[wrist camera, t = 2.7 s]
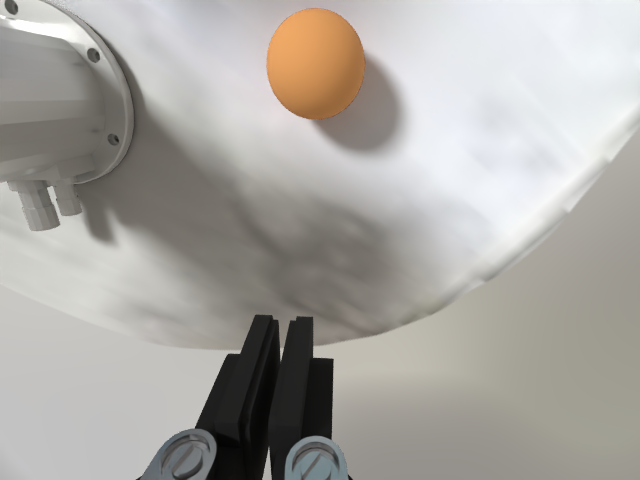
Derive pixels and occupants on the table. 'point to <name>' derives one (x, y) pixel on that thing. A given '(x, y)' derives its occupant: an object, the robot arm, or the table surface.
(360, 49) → the ball
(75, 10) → the table surface
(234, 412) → the robot arm
